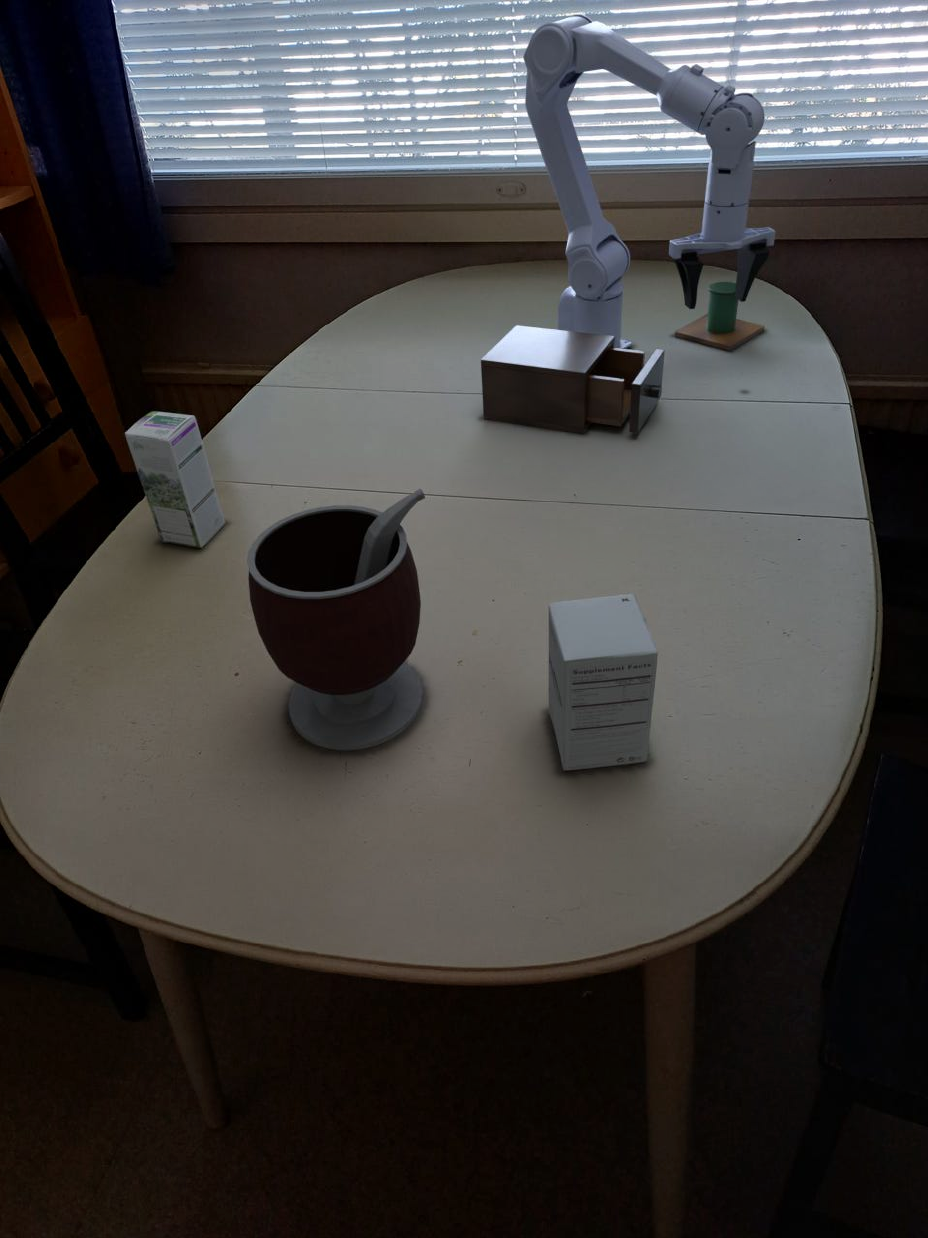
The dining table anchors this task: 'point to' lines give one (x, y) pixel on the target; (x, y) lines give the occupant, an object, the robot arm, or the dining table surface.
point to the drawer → (624, 387)
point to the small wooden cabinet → (541, 377)
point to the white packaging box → (601, 681)
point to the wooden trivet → (723, 341)
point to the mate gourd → (341, 620)
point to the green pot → (722, 307)
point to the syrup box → (176, 478)
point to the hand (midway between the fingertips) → (715, 302)
